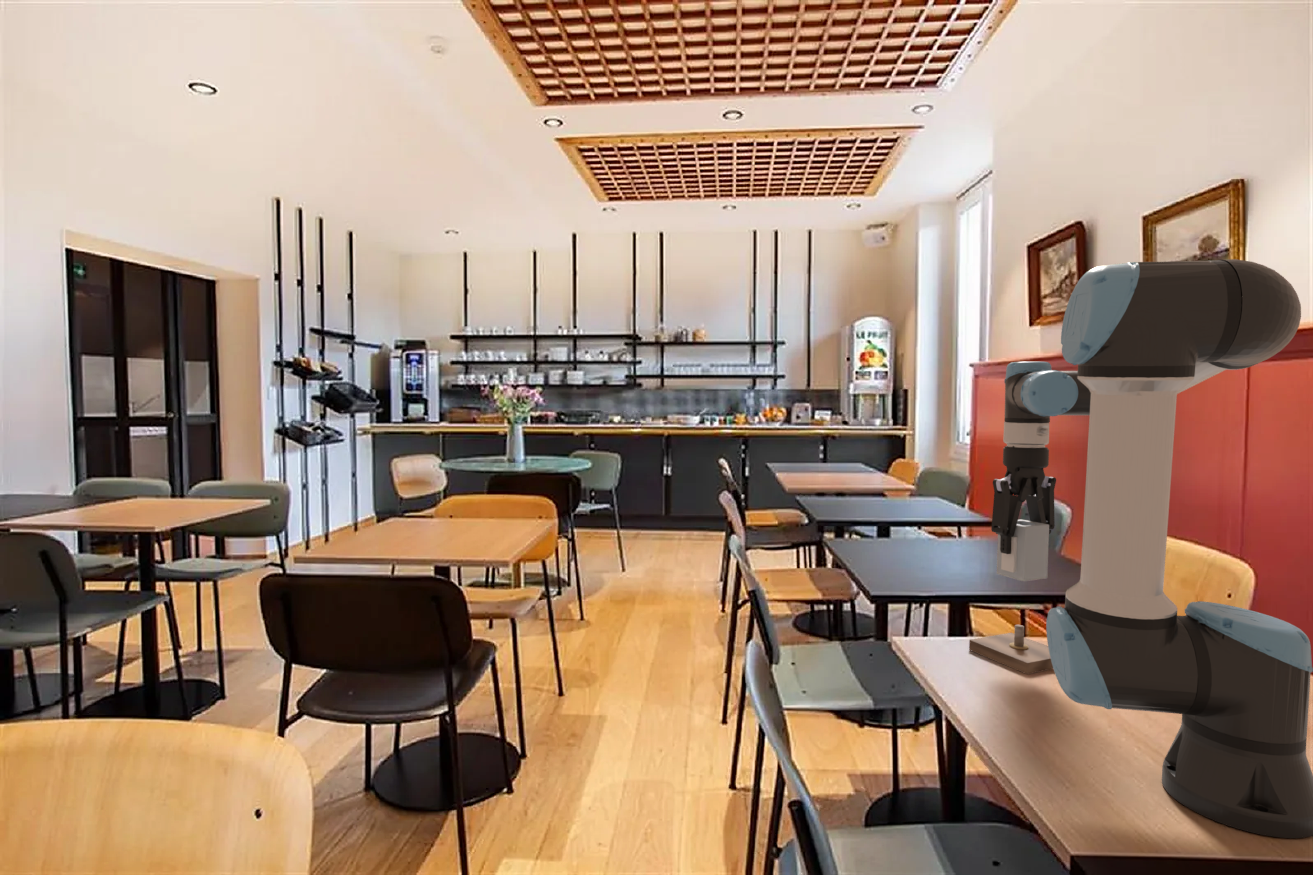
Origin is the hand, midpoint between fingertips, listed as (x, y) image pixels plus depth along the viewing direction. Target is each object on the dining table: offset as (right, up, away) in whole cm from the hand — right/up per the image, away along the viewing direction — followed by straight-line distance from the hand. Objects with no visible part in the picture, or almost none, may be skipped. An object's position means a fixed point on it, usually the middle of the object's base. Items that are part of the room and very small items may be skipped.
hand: (1021, 568), depth 133 cm
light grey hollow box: (0, -1, 0) cm, 1 cm away
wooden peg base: (0, -17, +1) cm, 17 cm away
